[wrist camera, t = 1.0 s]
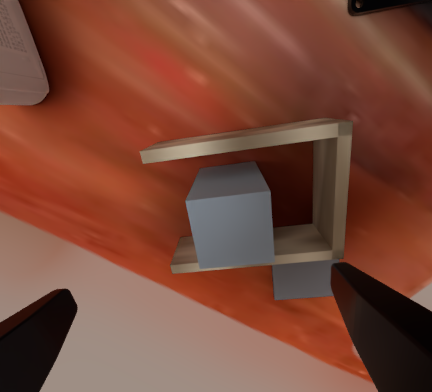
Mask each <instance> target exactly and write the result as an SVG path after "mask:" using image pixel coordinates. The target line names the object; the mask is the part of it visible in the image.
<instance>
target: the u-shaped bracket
mask: <svg viewBox="0 0 432 392" xmlns="http://www.w3.org/2000/svg"><path fill="white" fill-rule="evenodd" d="M352 126H353V121H350V120H340V119H331V118H320V119H314V120H307V121H300V122H293V123H286V124H279V125H273V126H266V127H259V128H252V129H245V130H238V131H232V132H225V133H218V134H211V135H204V136H197V137H191V138H184V139H177V140H170V141H163V142H158V143H156V144H154V145H152V146H150V147H148V148H146V149H144V150H142V151H140V154H141V158H142V162H143V164H145V163H152V162H160V161H167V160H174V159H182V158H189V157H196V156H203V155H211V154H218V153H225V152H232V151H240V150H247V149H254V148H261V147H269V146H276V145H283V144H290V143H298V142H305V141H312V140H313V224H305V225H295V226H285V227H276V228H273V240H274V256H275V262H273V263H262V264H251V265H240V266H228V267H217V268H206V269H200V268H199V263H198V259H197V254H196V249H195V244H194V240H193V236H189V237H180V240H179V242H178V245H177V248H176V251H175V253H174V256H173V259H172V262H171V264H170V266H171V270H172V274H174V273H185V272H197V271H208V270H220V269H231V268H242V267H254V266H265V265H276V264H288V263H299V262H310V261H322V260H333V259H343V257H344V243H345V228H346V214H347V199H348V184H349V170H350V155H351V141H352Z"/></svg>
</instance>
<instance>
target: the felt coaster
mask: <svg viewBox="0 0 432 392" xmlns="http://www.w3.org/2000/svg"><path fill="white" fill-rule="evenodd" d="M333 263H339V259H333V260H322V261H310V262H299V263H288V264H276V265H272V276H273V291H274V299H275V300H284V299H298V298H311V297H325V296H334V295H333V293H332V290H331V284H330V281H331V265H332V264H333Z"/></svg>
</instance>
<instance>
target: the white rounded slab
mask: <svg viewBox="0 0 432 392" xmlns="http://www.w3.org/2000/svg"><path fill="white" fill-rule="evenodd" d="M47 93H49V85H48V81H47V77H46V73H45V70H44V67H43V64H42V62H41V59H40V57H39V54H38V51H37V48H36V46H35V43H34V40H33V38H32V35H31V32H30V30H29V27H28V24H27V22H26V19H25V16H24V14H23V11H22V9H21V6H20V4H19V1H18V0H0V105H34V104H37V103H39V102H41V101H42V100H43V99H44V98H45V97H46V95H47Z"/></svg>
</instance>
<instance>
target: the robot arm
mask: <svg viewBox="0 0 432 392" xmlns="http://www.w3.org/2000/svg"><path fill="white" fill-rule="evenodd" d="M358 1H360V3H361V5H360V8H357V7H356V4H355V3H356V0H348V11H349V13H350V14H352V15H359V14H365V13H370V12H376V11H381V10H386V9H392V8H397V7H402V6H408V5H413V4H419V3H424V2H429V1H432V0H358ZM330 284H331V290H332V293H333V295H334V298H335V300H336V303H337V305H338V307H339V310H340V312H341V315H342V317H343V320H344V322H345V325H346V327H347V330H348V332H349V335H350V337H351V339H352V342H353V344H354V346H355V348H356V350H357V351H358V354H359V356H360V358H361V359H362V361H363V363H364V365H365V367H366V369H367V371H368V373H369V375H370V377H371V379H372V380H373V382H374V384H375V386H376V388H377V390H378V392H432V311H430V310H428V309H426V308H425V307H423V306H421V305H420V304H418V303H416V302H414V301H412V300H411V299H409V298H407V297H406V296H404V295H402V294H401V293H399V292H397V291H395V290H394V289H392V288H390V287H388V286H387V285H385V284H383V283H381V282H380V281H378V280H376V279H374V278H373V277H371V276H369V275H368V274H366V273H364V272H362V271H361V270H359V269H357V268H355V267H354V266H352V265H350V264H348V263H346V262H340V263H333V264H332V265H331V281H330ZM76 313H77V304H76V302H75V300H74V298H73V296H72V294H71V292H70V291H69V290H68V289H57V290H54V291H52V292H50V293H49V294H47V295H45V296H44V297H42V298H40V299H39V300H37V301H35V302H34V303H32V304H30V305H29V306H27V307H25V308H24V309H22V310H20V311H19V312H17V313H15V314H14V315H12V316H10V317H9V318H7V319H5V320H4V321H2V322H0V392H39V391H40V389H41V387H42V386H43V384H44V382H45V380H46V378H47V376H48V374H49V372H50V370H51V368H52V367H53V365H54V363H55V361H56V359H57V357H58V354H59V352H60V350H61V348H62V345H63V343H64V341H65V338H66V336H67V334H68V332H69V329H70V327H71V325H72V322H73V320H74V318H75V315H76Z"/></svg>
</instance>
